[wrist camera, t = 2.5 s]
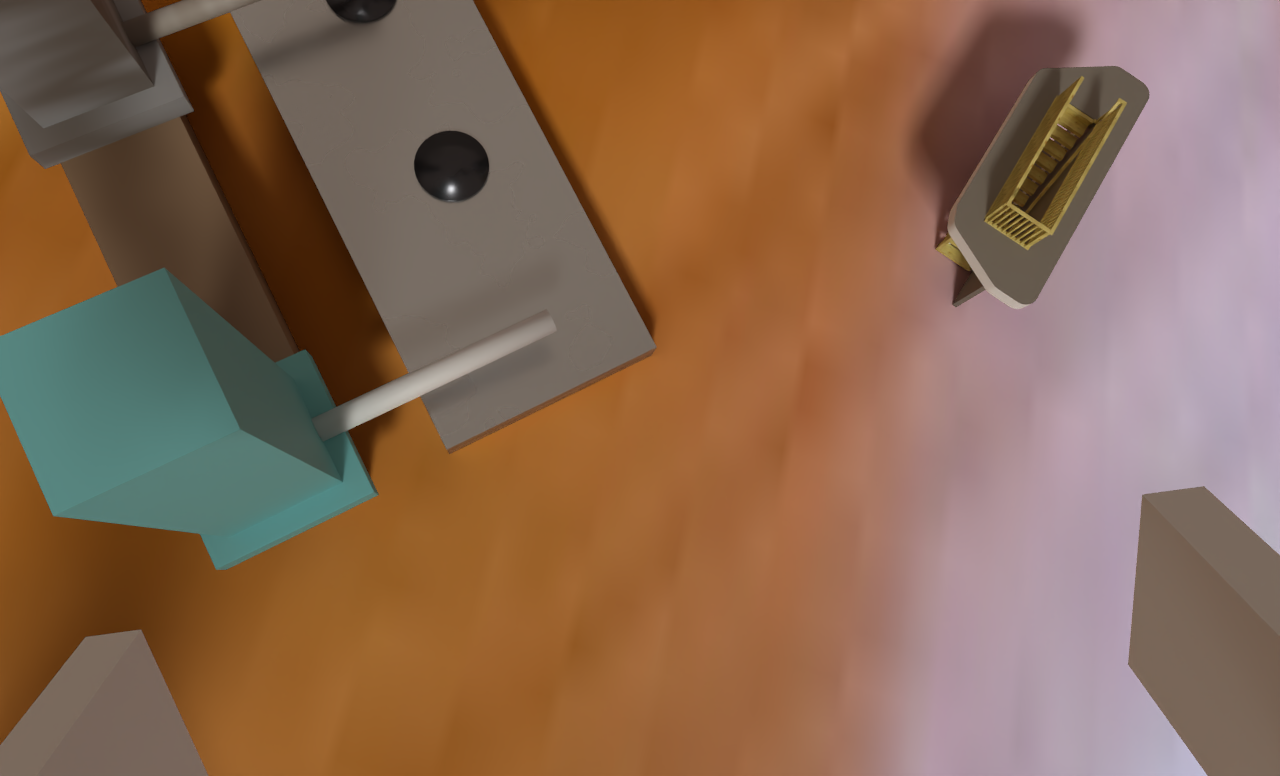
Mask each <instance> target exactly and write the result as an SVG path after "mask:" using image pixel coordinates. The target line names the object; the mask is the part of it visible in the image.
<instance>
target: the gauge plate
mask: <svg viewBox="0 0 1280 776" xmlns="http://www.w3.org/2000/svg"><path fill="white" fill-rule="evenodd" d="M230 13H231V15H232V17H233V19H234V21H235V23H236V25H237V27H238V29H239V31H240V33H241V35H242V37H243V39H244V41H245V43H246V45H247V47H248V49H249V51H250V53H251V55H252V57H253V59H254V61H255V63H256V65H257V67H258V69H259V71H260V73H261V75H262V77H263V79H264V81H265V83H266V85H267V87H268V89H269V91H270V93H271V95H272V97H273V99H274V101H275V103H276V105H277V107H278V109H279V112H280V114H281V116H282V118H283V120H284V122H285V124H286V126H287V128H288V130H289V132H290V134H291V136H292V138H293V140H294V142H295V144H296V146H297V148H298V150H299V152H300V154H301V156H302V158H303V160H304V162H305V164H306V166H307V168H308V170H309V172H310V174H311V176H312V178H313V180H314V182H315V184H316V186H317V188H318V190H319V192H320V194H321V196H322V198H323V200H324V202H325V204H326V206H327V208H328V210H329V213H330V215H331V217H332V219H333V221H334V223H335V225H336V227H337V229H338V231H339V233H340V235H341V237H342V239H343V241H344V243H345V245H346V247H347V249H348V251H349V253H350V255H351V257H352V259H353V261H354V263H355V265H356V267H357V269H358V271H359V273H360V275H361V277H362V279H363V281H364V283H365V285H366V287H367V289H368V291H369V293H370V295H371V297H372V299H373V301H374V303H375V305H376V307H377V309H378V311H379V314H380V316H381V318H382V320H383V322H384V324H385V326H386V328H387V330H388V332H389V334H390V336H391V338H392V340H393V342H394V344H395V346H396V348H397V350H398V352H399V354H400V356H401V358H402V360H403V362H404V364H405V366H406V368H407V370H408V372H409V373H410V372H412V371H414V370H417V369H419V368H421V367H423V366H425V365H427V364H429V363H432V362H434V361H436V360H438V359H440V358H442V357H444V356H447V355H449V354H451V353H453V352H455V351H457V350H459V349H462V348H464V347H466V346H468V345H470V344H472V343H474V342H477V341H479V340H481V339H483V338H485V337H487V336H489V335H492V334H494V333H496V332H498V331H500V330H502V329H504V328H507V327H509V326H511V325H513V324H515V323H517V322H519V321H522V320H524V319H526V318H528V317H530V316H532V315H534V314H537V313H539V312H541V311H543V310H545V309H546V310H547V311H548V312H549V314H550V315H551V317H552V319H553V321H554V324H555V326H556V330H557V331H556V332H554V333H552V334H550V335H548V336H546V337H544V338H542V339H540V340H538V341H535V342H533V343H531V344H529V345H527V346H525V347H523V348H521V349H518V350H516V351H514V352H512V353H510V354H508V355H506V356H504V357H502V358H499V359H497V360H495V361H493V362H491V363H489V364H487V365H485V366H483V367H480V368H478V369H476V370H474V371H472V372H470V373H468V374H466V375H464V376H461V377H459V378H457V379H455V380H453V381H451V382H449V383H447V384H445V385H442V386H440V387H438V388H436V389H434V390H432V391H430V392H428V393H426V394H423V395H421V398H422V400H423V402H424V404H425V406H426V408H427V410H428V412H429V415H430V417H431V419H432V421H433V423H434V425H435V427H436V429H437V431H438V433H439V435H440V437H441V439H442V441H443V443H444V445H445V447H446V449H447V451H448V452H449V454H450V453H453V452H455V451H457V450H459V449H461V448H463V447H465V446H467V445H469V444H471V443H473V442H475V441H477V440H479V439H481V438H483V437H485V436H487V435H489V434H491V433H493V432H495V431H497V430H499V429H502V428H504V427H506V426H508V425H510V424H512V423H514V422H516V421H518V420H520V419H522V418H524V417H526V416H528V415H530V414H532V413H534V412H536V411H538V410H540V409H542V408H544V407H546V406H548V405H551V404H553V403H555V402H557V401H559V400H561V399H563V398H565V397H567V396H569V395H571V394H573V393H575V392H577V391H579V390H581V389H583V388H585V387H587V386H589V385H591V384H593V383H595V382H597V381H600V380H602V379H604V378H606V377H608V376H610V375H612V374H614V373H616V372H618V371H620V370H622V369H624V368H626V367H628V366H630V365H632V364H634V363H636V362H638V361H640V360H642V359H644V358H646V357H649V356H651V355H652V354H653V352H654V351H655V349H656V345H655V343H654V341H653V339H652V338H651V336H650V334H649V332H648V330H647V328H646V326H645V324H644V322H643V321H642V319H641V317H640V315H639V313H638V311H637V309H636V307H635V305H634V304H633V302H632V300H631V298H630V296H629V294H628V292H627V290H626V288H625V287H624V285H623V283H622V281H621V279H620V277H619V275H618V273H617V272H616V270H615V268H614V266H613V264H612V262H611V260H610V258H609V256H608V255H607V253H606V251H605V249H604V247H603V245H602V243H601V241H600V239H599V238H598V236H597V234H596V232H595V230H594V228H593V226H592V224H591V222H590V221H589V219H588V217H587V215H586V213H585V211H584V209H583V207H582V205H581V204H580V202H579V200H578V198H577V196H576V194H575V192H574V190H573V188H572V187H571V185H570V183H569V181H568V179H567V177H566V175H565V173H564V172H563V170H562V168H561V166H560V164H559V162H558V160H557V158H556V156H555V155H554V153H553V151H552V149H551V147H550V145H549V143H548V141H547V139H546V138H545V136H544V134H543V132H542V130H541V128H540V126H539V124H538V122H537V121H536V119H535V117H534V115H533V113H532V111H531V109H530V107H529V105H528V104H527V102H526V100H525V98H524V96H523V94H522V92H521V90H520V88H519V87H518V85H517V83H516V81H515V79H514V77H513V75H512V73H511V72H510V70H509V68H508V66H507V64H506V62H505V60H504V58H503V56H502V55H501V53H500V51H499V49H498V47H497V45H496V43H495V41H494V39H493V38H492V36H491V34H490V32H489V30H488V28H487V26H486V24H485V22H484V21H483V19H482V17H481V15H480V13H479V11H478V9H477V7H476V5H475V4H474V2H473V0H261V1H259V2H256V3H253V4H250V5H248V6H245V7H242V8H240V9H237V10H234V11H232V12H230Z"/></svg>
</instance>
